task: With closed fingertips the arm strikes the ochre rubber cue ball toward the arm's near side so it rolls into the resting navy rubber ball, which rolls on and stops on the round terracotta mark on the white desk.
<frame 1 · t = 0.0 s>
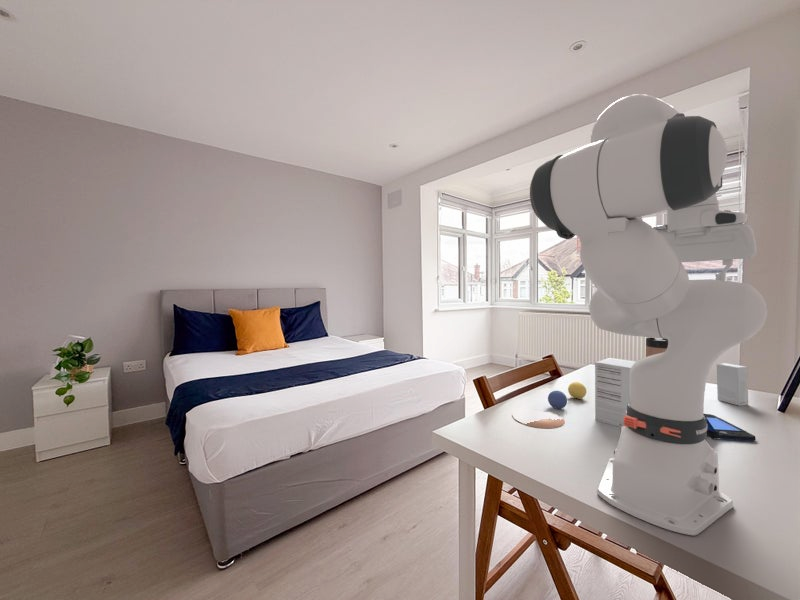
hand: (692, 281, 77), 39 cm above the table, tool pointing down, fingers open, 8 cm apart
skincare box: (731, 403, 106), on the table
mark: (537, 418, 96), on the table
ball b: (557, 399, 104), on the table
supplement box: (619, 421, 93), on the table
ball a: (577, 390, 112), on the table
travel mug: (659, 398, 111), on the table
handheld game console: (703, 429, 88), on the table
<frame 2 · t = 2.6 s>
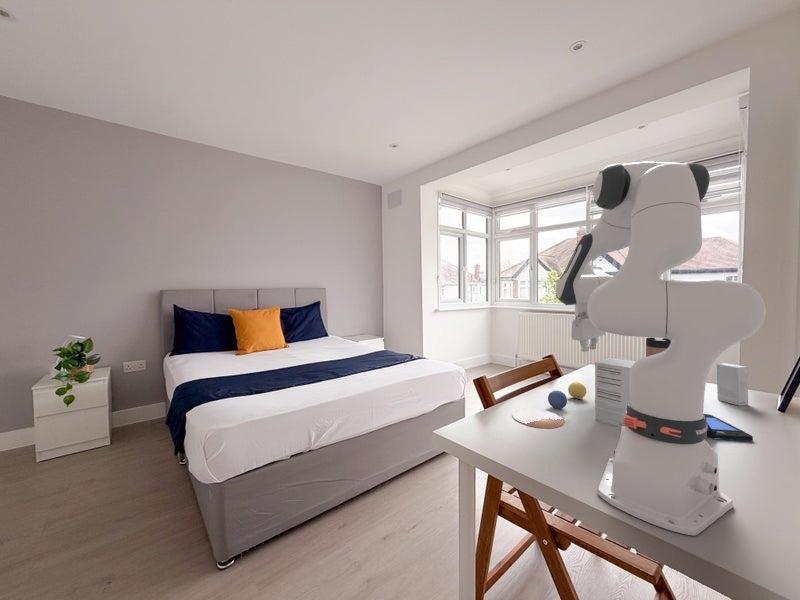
hand: (589, 350, 118), 15 cm above the table, tool pointing down, fingers open, 5 cm apart
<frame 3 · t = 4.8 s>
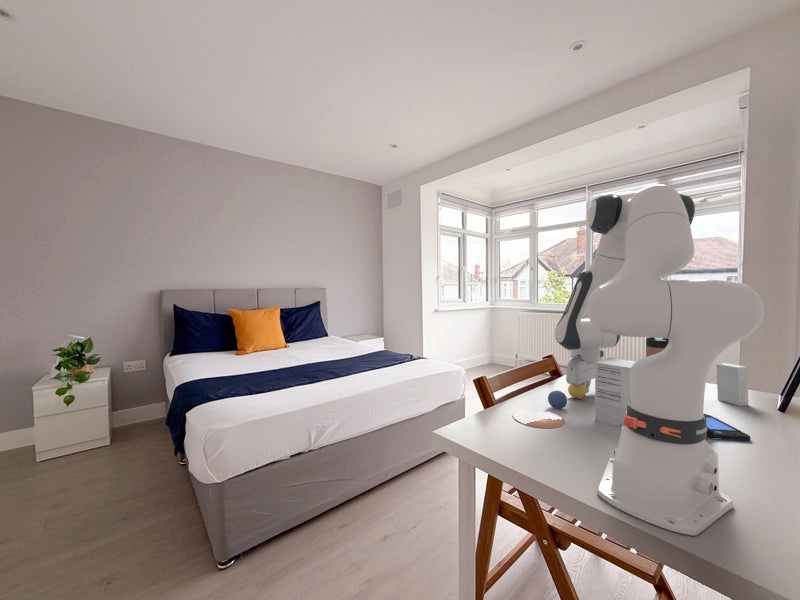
hand: (584, 392, 115), 1 cm above the table, tool pointing down, fingers closed
ball a: (577, 390, 112), on the table, touching gripper
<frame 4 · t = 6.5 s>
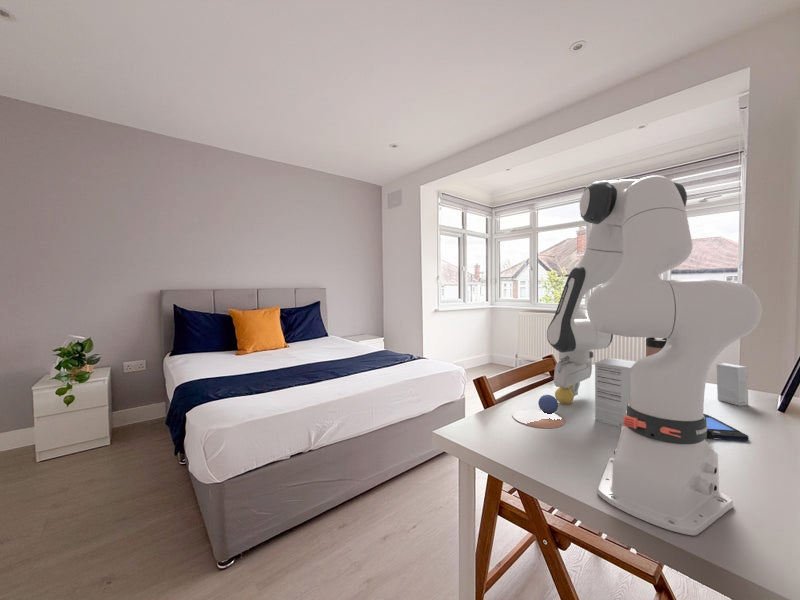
hand: (573, 395, 110), 2 cm above the table, tool pointing down, fingers closed
ball b: (548, 404, 100), on the table
ball a: (564, 395, 107), on the table
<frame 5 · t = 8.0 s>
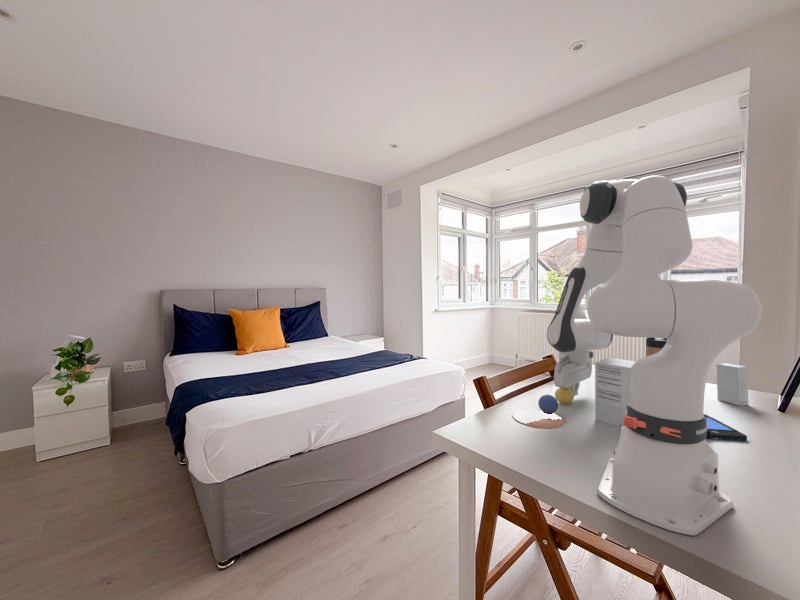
hand: (573, 395, 110), 2 cm above the table, tool pointing down, fingers closed
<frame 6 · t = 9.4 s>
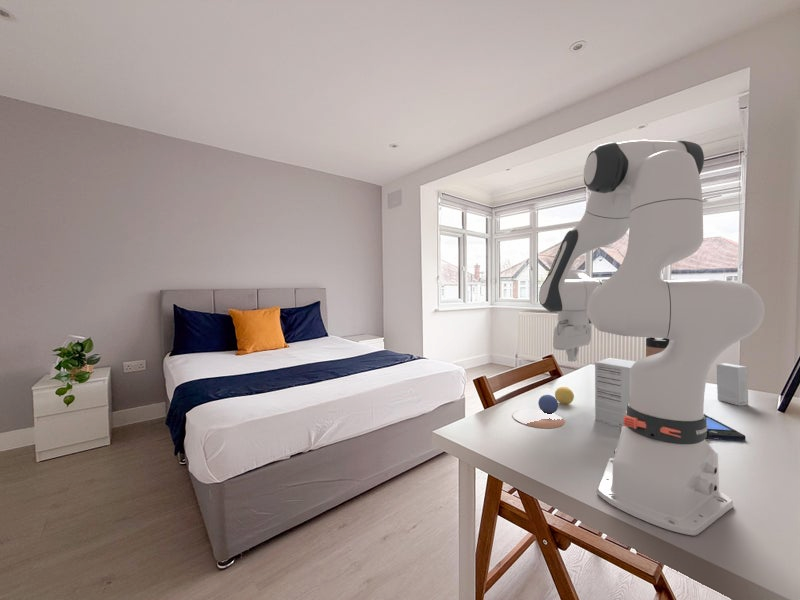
hand: (572, 360, 110), 13 cm above the table, tool pointing down, fingers closed
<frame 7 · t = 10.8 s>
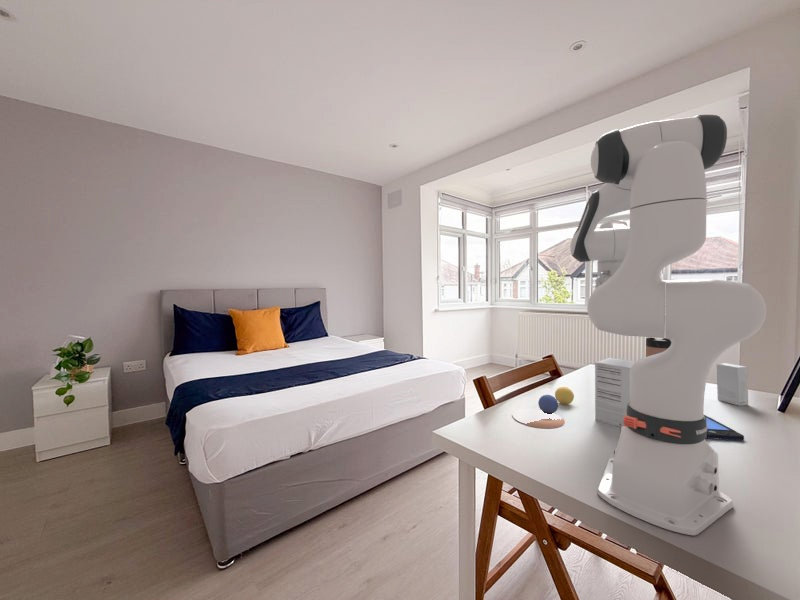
hand: (612, 312, 110), 29 cm above the table, tool pointing down, fingers closed
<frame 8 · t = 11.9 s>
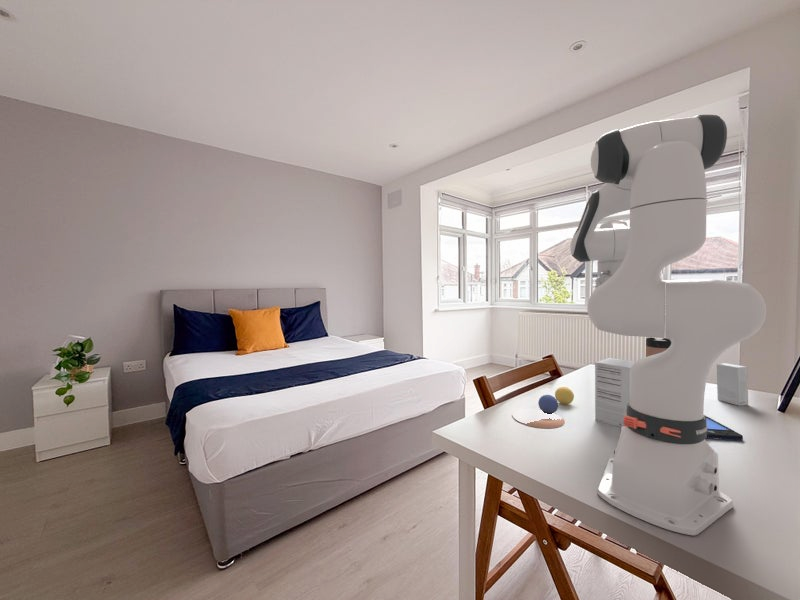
hand: (612, 312, 110), 29 cm above the table, tool pointing down, fingers closed
at the end: ball b 6.0 cm from the mark (horizontally); ball b never touched the robot; ball a first touched ball b at 5.3 s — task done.
